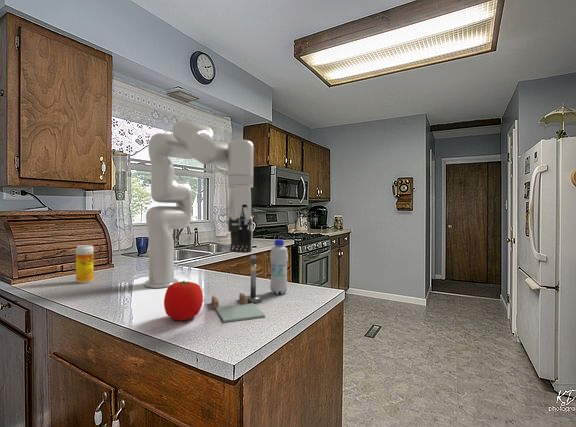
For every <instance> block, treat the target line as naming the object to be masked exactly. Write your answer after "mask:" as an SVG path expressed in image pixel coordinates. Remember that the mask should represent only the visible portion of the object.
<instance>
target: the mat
mask: <svg viewBox="0 0 576 427" xmlns="http://www.w3.org/2000/svg"><path fill="white" fill-rule="evenodd" d="M215 310H216V312H217V314H218V315H219V317H220V319H221V320H222V322H223V323H225V324H226V323H231V322H238V321H239V322H240V321H246V320H253V319H254V320H255V319H261V318H266V315H265V313H263V311H262V310H261V309H260V308H259V307H258V306H257V304H254V303H250V304H243V303H242V304H236V305H235V304H233V305H226V306H219V307H216V309H215Z"/></svg>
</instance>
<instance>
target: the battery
mask: <svg viewBox="0 0 576 427" xmlns="http://www.w3.org/2000/svg"><path fill="white" fill-rule="evenodd" d="M240 219H244V218H240ZM253 220H254V219H253V217H252V216H251V218H250V220H249V243H248V244H238V230H239V225H238V218H237V220H236V221H235V220H232V219H231V216H230V217H229V218H228V232H230V249H229V251H230V252H231V253H242V254H247V253H252V252H253V239H254V238H253V237H254V236H253V235H254V234H253V233H254V221H253ZM241 224H242V222H241Z"/></svg>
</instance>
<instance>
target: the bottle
mask: <svg viewBox="0 0 576 427" xmlns="http://www.w3.org/2000/svg"><path fill="white" fill-rule="evenodd" d="M284 241H285V240H283V239H281V238H278V239H275V240H274V246H272V247H271V248H270V254H269V256H270V260H269V261H270V265H271V266H270V284H269V285H270V287H269V288H270V290H271V293H272V294H276V295H279V292H280V295H283V294H286V293H287V291H288V260H289V254H288V253H289V252H288V248H287V247H285V245H284V244H285V242H284Z"/></svg>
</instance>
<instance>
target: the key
mask: <svg viewBox="0 0 576 427" xmlns="http://www.w3.org/2000/svg"><path fill="white" fill-rule="evenodd" d="M249 290H250V297H251V298H255V297H256V295H257V294H256V293H257V255H255V254H254V255H253V254H251V255H250V289H249Z"/></svg>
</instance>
